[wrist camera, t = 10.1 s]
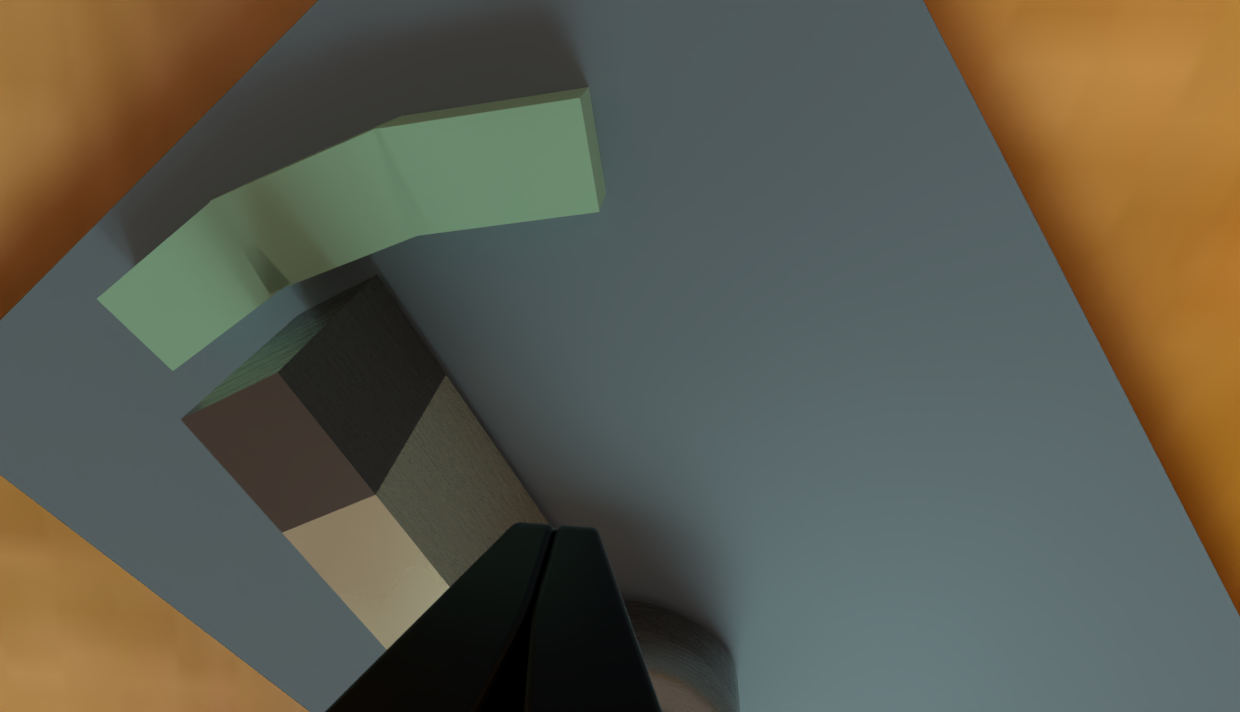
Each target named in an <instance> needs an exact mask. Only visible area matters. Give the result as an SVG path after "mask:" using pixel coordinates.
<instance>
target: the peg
mask: <svg viewBox="0 0 1240 712" xmlns="http://www.w3.org/2000/svg"><path fill="white" fill-rule="evenodd" d="M181 420H182V422H183V423H184V424H185V425H186V426H187V427H188V428H189V429H190V431H191V432H192V433H193V434H194V435H195V436H196V437H197V438H198V439H199V441H200V442H201V443H202V444H203V445H204V446H205V447H206V448H207V450H208V451H209V452H210V453H211V454H212V455H213V456H214V457H215V458H216V460H217V461H218V462H219V463H220V464H221V465H222V466H223V467H224V469H225V470H226V471H227V472H228V473H229V474H230V475H231V476H232V477H233V479H234V480H235V481H236V482H237V483H238V484H239V485H240V486H241V488H242V489H243V490H244V491H245V492H246V493H247V494H248V495H249V496H250V498H251V499H252V500H253V501H254V502H255V503H256V504H257V505H258V507H259V508H260V509H261V510H262V511H263V512H264V513H265V514H266V516H267V517H268V518H269V519H270V520H271V521H272V522H273V523H274V524H275V526H276V527H277V528H278V529H279V530H280V531H281V532H282V533H283V535H284V536H285V537H286V538H287V539H288V540H289V541H290V542H291V543H292V545H293V546H294V547H295V548H296V549H297V550H298V551H299V552H300V554H301V555H302V556H303V557H304V558H305V559H306V560H307V561H308V562H309V564H310V565H311V566H312V567H313V568H314V569H315V570H316V571H317V573H318V574H319V575H320V576H321V577H322V578H323V579H324V580H325V581H326V583H327V584H328V585H329V586H330V587H331V588H332V589H333V590H334V592H335V593H336V594H337V595H338V596H339V597H340V598H341V599H342V600H343V602H344V603H345V604H346V605H347V606H348V607H349V608H350V609H351V611H352V612H353V613H354V614H355V615H356V616H357V617H358V618H359V619H360V621H361V622H362V623H363V624H364V625H365V626H366V627H367V628H368V630H369V631H370V632H371V633H372V634H373V635H374V636H375V637H376V638H377V640H378V641H379V642H380V643H381V644H382V645H383V646H384V647H385V649H386V650H387V649H388V648H389V647H390V646H391V645H392V644H393V643H394V642H395V641H396V640H397V639H398V638H399V637H400V636H401V635H402V634H403V633H404V632H405V631H406V630H407V629H408V628H409V627H410V626H411V625H412V624H413V623H414V622H415V621H416V620H417V619H418V618H419V617H420V616H421V615H422V614H423V613H424V612H425V611H426V610H427V609H428V608H429V607H430V606H431V605H432V604H433V603H434V602H435V601H436V600H437V599H438V598H439V597H440V596H441V595H442V594H443V593H444V592H445V591H446V590H447V589H448V588H449V587H450V586H451V585H452V584H453V583H454V582H455V581H456V580H457V579H458V578H459V577H460V576H461V575H462V574H463V573H464V572H465V571H466V570H467V569H468V568H469V567H470V566H471V565H472V564H473V563H474V562H475V561H476V560H477V559H478V558H479V557H480V556H481V555H482V554H483V553H484V552H485V551H486V550H487V549H488V548H489V547H490V546H491V545H492V544H493V543H494V542H495V541H496V540H497V539H499V538H500V537H501V536H502V535H503V534H504V533H505V532H506V531H507V530H508V529H509V528H510V527H511V526H512V525H513V524H515V523H518V522H527V523H542V524H549V523H548V522H547V520H546V519H545V517H544V516H543V514H542V513H541V511H540V510H539V509H538V507H537V506H536V504H535V503H534V501H533V500H532V498H531V497H530V496H529V494H528V493H527V491H526V490H525V488H524V487H523V485H522V484H521V482H520V481H519V480H518V478H517V477H516V475H515V474H514V472H513V471H512V469H511V468H510V467H509V465H508V464H507V462H506V461H505V459H504V458H503V456H502V455H501V454H500V452H499V451H498V449H497V448H496V446H495V445H494V443H493V442H492V440H491V439H490V438H489V436H488V435H487V433H486V432H485V430H484V429H483V427H482V426H481V425H480V423H479V422H478V420H477V419H476V417H475V416H474V414H473V413H472V412H471V410H470V409H469V407H468V406H467V404H466V403H465V401H464V400H463V399H462V397H461V396H460V394H459V393H458V391H457V390H456V388H455V387H454V385H453V384H452V383H451V381H450V380H449V378H448V377H447V375H446V374H445V372H444V371H443V370H442V368H441V367H440V365H439V364H438V362H437V361H436V359H435V358H434V357H433V355H432V354H431V352H430V351H429V349H428V348H427V346H426V345H425V343H424V342H423V341H422V339H421V338H420V336H419V335H418V333H417V332H416V330H415V329H414V328H413V326H412V325H411V323H410V322H409V320H408V319H407V317H406V316H405V315H404V313H403V312H402V310H401V309H400V307H399V306H398V304H397V303H396V302H395V300H394V299H393V297H392V296H391V294H390V293H389V291H388V290H387V288H386V287H385V286H384V284H383V283H382V281H381V280H380V278H379V277H378V275H375V276H373V277H371V278H369V279H367V280H365V281H363V282H361V283H359V284H357V285H355V286H353V287H351V288H349V289H347V290H345V291H343V292H341V293H339V294H337V295H335V296H333V297H331V298H329V299H327V300H325V301H323V302H321V303H319V304H317V305H316V306H314V307H312V308H310V309H308V310H306V311H304V312H302V313H300V314H298V315H297V316H296V317H295V318H294V319H293V320H292V321H291V322H289V323H288V324H287V325H286V326H285V327H284V328H283V329H282V330H280V331H279V332H278V333H277V334H276V335H275V336H274V337H273V338H271V339H270V340H269V341H268V342H267V343H266V344H265V345H264V346H262V347H261V348H260V349H259V350H258V351H257V352H256V353H255V354H253V355H252V356H251V357H250V358H249V359H248V360H247V361H246V362H244V363H243V364H242V365H241V366H240V367H239V368H238V369H237V370H235V371H234V372H233V373H232V374H231V375H230V376H229V377H228V378H226V379H225V380H224V381H223V382H222V383H221V384H220V385H219V386H217V387H216V388H215V389H214V390H213V391H212V392H211V393H210V394H208V395H207V396H206V397H205V398H204V399H203V400H202V401H201V402H199V403H198V404H197V405H196V406H195V407H194V408H193V409H192V410H191V411H189V412H188V413H187V414H186V415H185V416H184V417H183V418H182V419H181ZM623 601H624V604H625V607H626V610H627V613H628V615H629V618H630V621H631V624H632V627H633V630H634V632H635V635H636V638H637V641H638V644H639V647H640V650H641V652H642V655H643V658H644V661H645V664H646V667H647V669H648V672H649V675H650V678H651V681H652V684H653V687H654V689H655V692H656V695H657V698H658V701H659V704H660V706H661V709H662V712H740V701H739V689H738V679H737V673H736V670H735V667H734V664H733V662H732V660H731V658H730V656H729V654H728V653H727V652H726V650H725V649H724V647H723V646H722V645H721V644H720V643H719V642H718V640H717V639H716V638H715V637H714V636H713V635H712V634H710V633H709V632H708V631H706V630H705V629H704V628H703V627H701V626H700V625H698V624H697V623H695V622H693V621H692V620H690V619H688V618H686V617H684V616H682V615H680V614H678V613H676V612H673V611H670V610H668V609H665V608H662V607H659V606H655V605H651V604H647V603H642V602H635V601H628V600H623Z"/></svg>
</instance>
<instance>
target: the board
mask: <svg viewBox="0 0 1240 712" xmlns="http://www.w3.org/2000/svg"><path fill="white" fill-rule="evenodd" d="M375 275H378V277H379V278H380V280H381V281H382V283H383V284H384V286H385V287H386V288H387V290H388V291H389V293H390V294H391V296H392V297H393V299H394V300H395V302H396V303H397V304H398V306H399V307H400V309H401V310H402V312H403V313H404V315H405V316H406V317H407V319H408V320H409V322H410V323H411V325H412V326H413V328H414V329H415V330H416V332H417V333H418V335H419V336H420V338H421V339H422V341H423V342H424V343H425V345H426V346H427V348H428V349H429V351H430V352H431V354H432V355H433V357H434V358H435V359H436V361H437V362H438V364H439V365H440V367H441V368H442V370H443V371H444V372H445V374H446V375H447V377H448V378H449V380H450V381H451V383H452V384H453V385H454V387H455V388H456V390H457V391H458V393H459V394H460V396H461V397H462V399H463V400H464V401H465V403H466V404H467V406H468V407H469V409H470V410H471V412H472V413H473V414H474V416H475V417H476V419H477V420H478V422H479V423H480V425H481V426H482V427H483V429H484V430H485V432H486V433H487V435H488V436H489V438H490V439H491V440H492V442H493V443H494V445H495V446H496V448H497V449H498V451H499V452H500V454H501V455H502V456H503V458H504V459H505V461H506V462H507V464H508V465H509V467H510V468H511V469H512V471H513V472H514V474H515V475H516V477H517V478H518V480H519V481H520V482H521V484H522V485H523V487H524V488H525V490H526V491H527V493H528V494H529V496H530V497H531V498H532V500H533V501H534V503H535V504H536V506H537V507H538V509H539V510H540V511H541V513H542V514H543V516H544V517H545V519H546V520H547V522H548V523H549V524H551V525H552V526H553V527H554V528H555V530H557V528H558V527H560V526H561V525H571V526H586V527H594V528H596V529H597V530H598V532H599V533H600V536H601V539H602V541H603V544H604V547H605V550H606V553H607V556H608V559H609V561H610V564H611V567H612V570H613V573H614V576H615V578H616V581H617V584H618V587H619V590H620V593H621V596H622V598H623V600H628V601H635V602H642V603H647V604H651V605H655V606H659V607H662V608H665V609H668V610H670V611H673V612H676V613H678V614H680V615H682V616H684V617H686V618H688V619H690V620H692V621H693V622H695V623H697V624H698V625H700V626H701V627H703V628H704V629H705V630H706V631H708V632H709V633H710V634H712V635H713V636H714V637H715V638H716V639H717V640H718V642H719V643H720V644H721V645H722V646H723V647H724V649H725V650H726V652H727V653H728V654H729V656H730V658H731V660H732V662H733V664H734V667H735V670H736V673H737V679H738V689H739V701H740V712H1240V616H1239V614H1238V612H1237V610H1236V608H1235V606H1234V605H1233V603H1232V601H1231V599H1230V597H1229V595H1228V593H1227V591H1226V589H1225V587H1224V585H1223V583H1222V581H1221V579H1220V577H1219V575H1218V573H1217V571H1216V569H1215V568H1214V566H1213V564H1212V562H1211V560H1210V558H1209V556H1208V554H1207V552H1206V550H1205V548H1204V546H1203V544H1202V542H1201V540H1200V538H1199V536H1198V534H1197V532H1196V531H1195V529H1194V527H1193V525H1192V523H1191V521H1190V519H1189V517H1188V515H1187V513H1186V511H1185V509H1184V507H1183V505H1182V503H1181V501H1180V499H1179V497H1178V496H1177V494H1176V492H1175V490H1174V488H1173V486H1172V484H1171V482H1170V480H1169V478H1168V476H1167V474H1166V472H1165V470H1164V468H1163V466H1162V464H1161V462H1160V460H1159V459H1158V457H1157V455H1156V453H1155V451H1154V449H1153V447H1152V445H1151V443H1150V441H1149V439H1148V437H1147V435H1146V433H1145V431H1144V429H1143V427H1142V425H1141V423H1140V422H1139V420H1138V418H1137V416H1136V414H1135V412H1134V410H1133V408H1132V406H1131V404H1130V402H1129V400H1128V398H1127V396H1126V394H1125V392H1124V390H1123V388H1122V387H1121V385H1120V383H1119V381H1118V379H1117V377H1116V375H1115V373H1114V371H1113V369H1112V367H1111V365H1110V363H1109V361H1108V359H1107V357H1106V355H1105V353H1104V351H1103V350H1102V348H1101V346H1100V344H1099V342H1098V340H1097V338H1096V336H1095V334H1094V332H1093V330H1092V328H1091V326H1090V324H1089V322H1088V320H1087V318H1086V316H1085V314H1084V313H1083V311H1082V309H1081V307H1080V305H1079V303H1078V301H1077V299H1076V297H1075V295H1074V293H1073V291H1072V289H1071V287H1070V285H1069V283H1068V281H1067V279H1066V278H1065V276H1064V274H1063V272H1062V270H1061V268H1060V266H1059V264H1058V262H1057V260H1056V258H1055V256H1054V254H1053V252H1052V250H1051V248H1050V246H1049V244H1048V242H1047V241H1046V239H1045V237H1044V235H1043V233H1042V231H1041V229H1040V227H1039V225H1038V223H1037V221H1036V219H1035V217H1034V215H1033V213H1032V211H1031V209H1030V207H1029V205H1028V204H1027V202H1026V200H1025V198H1024V196H1023V194H1022V192H1021V190H1020V188H1019V186H1018V184H1017V182H1016V180H1015V178H1014V176H1013V174H1012V172H1011V170H1010V169H1009V167H1008V165H1007V163H1006V161H1005V159H1004V157H1003V155H1002V153H1001V151H1000V149H999V147H998V145H997V143H996V141H995V139H994V137H993V135H992V133H991V132H990V130H989V128H988V126H987V124H986V122H985V120H984V118H983V116H982V114H981V112H980V110H979V108H978V106H977V104H976V102H975V100H974V98H973V96H972V95H971V93H970V91H969V89H968V87H967V85H966V83H965V81H964V79H963V77H962V75H961V73H960V71H959V69H958V67H957V65H956V63H955V61H954V60H953V58H952V56H951V54H950V52H949V50H948V48H947V46H946V44H945V42H944V40H943V38H942V36H941V34H940V32H939V30H938V28H937V26H936V24H935V23H934V21H933V19H932V17H931V15H930V13H929V11H928V9H927V7H926V5H925V3H924V1H923V0H318V1H317V2H316V3H315V4H314V5H313V6H312V7H311V8H310V9H309V10H308V11H307V12H306V13H305V14H304V15H303V16H302V17H301V18H300V19H299V20H298V21H297V22H296V23H295V24H294V25H293V26H292V27H291V28H290V29H289V30H288V31H287V32H286V33H285V34H284V35H283V36H282V37H281V38H280V39H279V40H278V41H277V42H276V43H275V44H274V45H273V46H272V47H271V48H270V49H269V50H268V51H267V52H266V53H265V54H264V55H263V56H262V57H261V58H260V59H259V60H258V61H257V62H256V63H255V64H254V65H253V66H252V67H251V68H250V70H249V71H248V72H247V73H246V74H245V75H244V76H243V77H242V78H241V79H240V80H239V81H238V82H237V83H236V84H235V85H234V86H233V87H232V88H231V89H230V90H229V91H228V92H227V93H226V94H225V95H224V96H223V97H222V98H221V99H220V100H219V101H218V102H217V103H216V104H215V105H214V106H213V107H212V108H211V109H210V110H209V111H208V112H207V113H206V114H205V115H204V116H203V117H202V118H201V119H200V120H199V121H198V122H197V123H196V124H195V125H194V126H193V127H192V128H191V129H190V130H189V131H188V132H187V133H186V134H185V135H184V136H183V137H182V138H181V139H180V140H179V141H178V142H177V143H176V144H175V145H174V146H173V147H172V148H171V149H170V150H169V151H168V152H167V153H166V154H165V155H164V156H163V157H162V158H161V159H160V160H159V161H158V162H157V163H156V164H155V165H154V166H153V167H152V168H151V169H150V170H149V171H148V172H147V173H146V174H145V175H144V176H143V177H142V178H141V179H140V180H139V181H138V182H137V183H136V184H135V185H134V186H133V187H132V188H131V189H130V190H129V191H128V192H127V193H126V194H125V195H124V196H123V197H122V198H121V199H120V200H119V201H118V202H117V203H116V204H115V205H114V206H113V207H112V208H111V209H110V210H109V211H108V212H107V213H106V214H105V215H104V216H103V217H102V218H101V219H100V220H99V221H98V222H97V224H96V225H95V226H94V227H93V228H92V229H91V230H90V231H89V232H88V233H87V234H86V235H85V236H84V237H83V238H82V239H81V240H80V241H79V242H78V243H77V244H76V245H75V246H74V247H73V248H72V249H71V250H70V251H69V252H68V253H67V254H66V255H65V256H64V257H63V258H62V259H61V260H60V261H59V262H58V263H57V264H56V265H55V266H54V267H53V268H52V269H51V270H50V271H49V272H48V273H47V274H46V275H45V276H44V277H43V278H42V279H41V280H40V281H39V282H38V283H37V284H36V285H35V286H34V287H33V288H32V289H31V290H30V291H29V292H28V293H27V294H26V295H25V296H24V297H23V298H22V299H21V300H20V301H19V302H18V303H17V304H16V305H15V306H14V307H13V308H12V309H11V310H10V311H9V312H8V313H7V314H6V315H5V316H4V317H3V318H2V319H1V320H0V475H1V476H3V477H4V478H5V479H6V480H8V481H9V482H10V483H12V484H13V485H14V486H16V487H17V488H18V489H19V490H21V491H22V492H23V493H25V494H26V495H27V496H29V497H30V498H31V499H33V500H34V501H35V502H36V503H38V504H39V505H40V506H42V507H43V508H44V509H46V510H47V511H48V512H50V513H51V514H52V515H53V516H55V517H56V518H57V519H59V520H60V521H61V522H63V523H64V524H65V525H67V526H68V527H69V528H70V529H72V530H73V531H74V532H76V533H77V534H78V535H80V536H81V537H82V538H84V539H85V540H86V541H87V542H89V543H90V544H91V545H93V546H94V547H95V548H97V549H98V550H99V551H101V552H102V553H103V554H104V555H106V556H107V557H108V558H110V559H111V560H112V561H114V562H115V563H116V564H118V565H119V566H120V567H121V568H123V569H124V570H125V571H127V572H128V573H129V574H131V575H132V576H133V577H135V578H136V579H137V580H138V581H140V582H141V583H142V584H144V585H145V586H146V587H148V588H149V589H150V590H151V591H153V592H154V593H155V594H157V595H158V596H159V597H161V598H162V599H163V600H165V601H166V602H167V603H168V604H170V605H171V606H172V607H174V608H175V609H176V610H178V611H179V612H180V613H182V614H183V615H184V616H185V617H187V618H188V619H189V620H191V621H192V622H193V623H195V624H196V625H197V626H199V627H200V628H201V629H202V630H204V631H205V632H206V633H208V634H209V635H210V636H212V637H213V638H214V639H216V640H217V641H218V642H219V643H221V644H222V645H223V646H225V647H226V648H227V649H229V650H230V651H231V652H233V653H234V654H235V655H236V656H238V657H239V658H240V659H242V660H243V661H244V662H246V663H247V664H248V665H250V666H251V667H252V668H253V669H255V670H256V671H257V672H259V673H260V674H261V675H263V676H264V677H265V678H266V679H268V680H269V681H270V682H272V683H273V684H274V685H276V686H277V687H278V688H280V689H281V690H282V691H283V692H285V693H286V694H287V695H289V696H290V697H291V698H293V699H294V700H295V701H297V702H298V703H299V704H300V705H302V706H303V707H304V708H306V709H307V710H308V711H310V712H325V711H326V710H327V709H328V708H329V707H330V706H331V705H332V704H333V703H334V702H335V701H336V700H337V699H338V698H339V697H340V696H341V695H342V694H343V693H344V692H345V691H346V690H347V689H348V688H349V687H350V686H351V685H352V684H353V683H354V682H355V681H356V680H357V679H358V678H359V677H360V676H361V675H362V674H363V673H364V672H365V671H366V670H367V669H368V668H369V667H370V666H371V665H372V664H373V663H374V662H375V661H376V660H377V659H378V658H379V657H380V656H381V655H382V654H383V653H384V652H385V651H386V649H385V647H384V646H383V645H382V644H381V643H380V642H379V641H378V640H377V638H376V637H375V636H374V635H373V634H372V633H371V632H370V631H369V630H368V628H367V627H366V626H365V625H364V624H363V623H362V622H361V621H360V619H359V618H358V617H357V616H356V615H355V614H354V613H353V612H352V611H351V609H350V608H349V607H348V606H347V605H346V604H345V603H344V602H343V600H342V599H341V598H340V597H339V596H338V595H337V594H336V593H335V592H334V590H333V589H332V588H331V587H330V586H329V585H328V584H327V583H326V581H325V580H324V579H323V578H322V577H321V576H320V575H319V574H318V573H317V571H316V570H315V569H314V568H313V567H312V566H311V565H310V564H309V562H308V561H307V560H306V559H305V558H304V557H303V556H302V555H301V554H300V552H299V551H298V550H297V549H296V548H295V547H294V546H293V545H292V543H291V542H290V541H289V540H288V539H287V538H286V537H285V536H284V535H283V533H282V532H281V531H280V530H279V529H278V528H277V527H276V526H275V524H274V523H273V522H272V521H271V520H270V519H269V518H268V517H267V516H266V514H265V513H264V512H263V511H262V510H261V509H260V508H259V507H258V505H257V504H256V503H255V502H254V501H253V500H252V499H251V498H250V496H249V495H248V494H247V493H246V492H245V491H244V490H243V489H242V488H241V486H240V485H239V484H238V483H237V482H236V481H235V480H234V479H233V477H232V476H231V475H230V474H229V473H228V472H227V471H226V470H225V469H224V467H223V466H222V465H221V464H220V463H219V462H218V461H217V460H216V458H215V457H214V456H213V455H212V454H211V453H210V452H209V451H208V450H207V448H206V447H205V446H204V445H203V444H202V443H201V442H200V441H199V439H198V438H197V437H196V436H195V435H194V434H193V433H192V432H191V431H190V429H189V428H188V427H187V426H186V425H185V424H184V423H183V422H182V420H181V419H182V418H183V417H184V416H185V415H186V414H187V413H188V412H189V411H191V410H192V409H193V408H194V407H195V406H196V405H197V404H198V403H199V402H201V401H202V400H203V399H204V398H205V397H206V396H207V395H208V394H210V393H211V392H212V391H213V390H214V389H215V388H216V387H217V386H219V385H220V384H221V383H222V382H223V381H224V380H225V379H226V378H228V377H229V376H230V375H231V374H232V373H233V372H234V371H235V370H237V369H238V368H239V367H240V366H241V365H242V364H243V363H244V362H246V361H247V360H248V359H249V358H250V357H251V356H252V355H253V354H255V353H256V352H257V351H258V350H259V349H260V348H261V347H262V346H264V345H265V344H266V343H267V342H268V341H269V340H270V339H271V338H273V337H274V336H275V335H276V334H277V333H278V332H279V331H280V330H282V329H283V328H284V327H285V326H286V325H287V324H288V323H289V322H291V321H292V320H293V319H294V318H295V317H296V316H297V315H298V314H300V313H302V312H304V311H306V310H308V309H310V308H312V307H314V306H316V305H317V304H319V303H321V302H323V301H325V300H327V299H329V298H331V297H333V296H335V295H337V294H339V293H341V292H343V291H345V290H347V289H349V288H351V287H353V286H355V285H357V284H359V283H361V282H363V281H365V280H367V279H369V278H371V277H373V276H375Z"/></svg>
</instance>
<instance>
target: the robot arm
mask: <svg viewBox="0 0 1240 712" xmlns="http://www.w3.org/2000/svg"><path fill="white" fill-rule="evenodd" d="M325 712H662V709H661V706H660V704H659V701H658V698H657V695H656V692H655V689H654V687H653V684H652V681H651V678H650V675H649V672H648V669H647V667H646V664H645V661H644V658H643V655H642V652H641V650H640V647H639V644H638V641H637V638H636V635H635V632H634V630H633V627H632V624H631V621H630V618H629V615H628V613H627V610H626V607H625V604H624V601H623V598H622V596H621V593H620V590H619V587H618V584H617V581H616V578H615V576H614V573H613V570H612V567H611V564H610V561H609V559H608V556H607V553H606V550H605V547H604V544H603V541H602V539H601V536H600V533H599V532H598V530H597V529H596V528H594V527H586V526H571V525H561V526H560V527H558V528H557V530H555V528H554V527H553V526H552V525H551V524H542V523H527V522H518V523H515V524H513V525H512V526H511V527H510V528H509V529H508V530H507V531H506V532H505V533H504V534H503V535H502V536H501V537H500V538H499V539H497V540H496V541H495V542H494V543H493V544H492V545H491V546H490V547H489V548H488V549H487V550H486V551H485V552H484V553H483V554H482V555H481V556H480V557H479V558H478V559H477V560H476V561H475V562H474V563H473V564H472V565H471V566H470V567H469V568H468V569H467V570H466V571H465V572H464V573H463V574H462V575H461V576H460V577H459V578H458V579H457V580H456V581H455V582H454V583H453V584H452V585H451V586H450V587H449V588H448V589H447V590H446V591H445V592H444V593H443V594H442V595H441V596H440V597H439V598H438V599H437V600H436V601H435V602H434V603H433V604H432V605H431V606H430V607H429V608H428V609H427V610H426V611H425V612H424V613H423V614H422V615H421V616H420V617H419V618H418V619H417V620H416V621H415V622H414V623H413V624H412V625H411V626H410V627H409V628H408V629H407V630H406V631H405V632H404V633H403V634H402V635H401V636H400V637H399V638H398V639H397V640H396V641H395V642H394V643H393V644H392V645H391V646H390V647H389V648H388V649H387V650H386V651H385V652H384V653H383V654H382V655H381V656H380V657H379V658H378V659H377V660H376V661H375V662H374V663H373V664H372V665H371V666H370V667H369V668H368V669H367V670H366V671H365V672H364V673H363V674H362V675H361V676H360V677H359V678H358V679H357V680H356V681H355V682H354V683H353V684H352V685H351V686H350V687H349V688H348V689H347V690H346V691H345V692H344V693H343V694H342V695H341V696H340V697H339V698H338V699H337V700H336V701H335V702H334V703H333V704H332V705H331V706H330V707H329V708H328V709H327V710H326V711H325Z"/></svg>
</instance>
